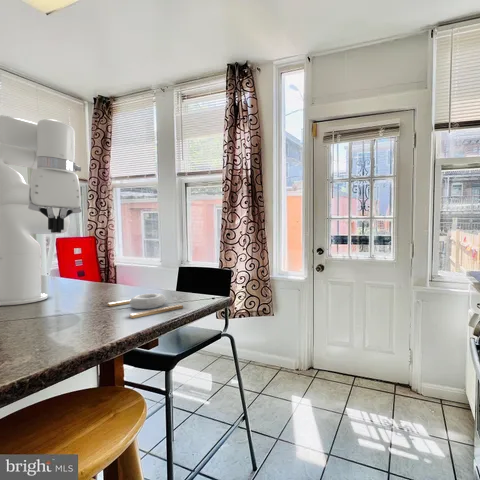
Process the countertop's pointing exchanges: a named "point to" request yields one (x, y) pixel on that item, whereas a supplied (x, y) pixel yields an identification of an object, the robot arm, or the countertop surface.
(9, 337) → the countertop surface
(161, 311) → the strips
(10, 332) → the countertop surface
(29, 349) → the countertop surface
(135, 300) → the donut
